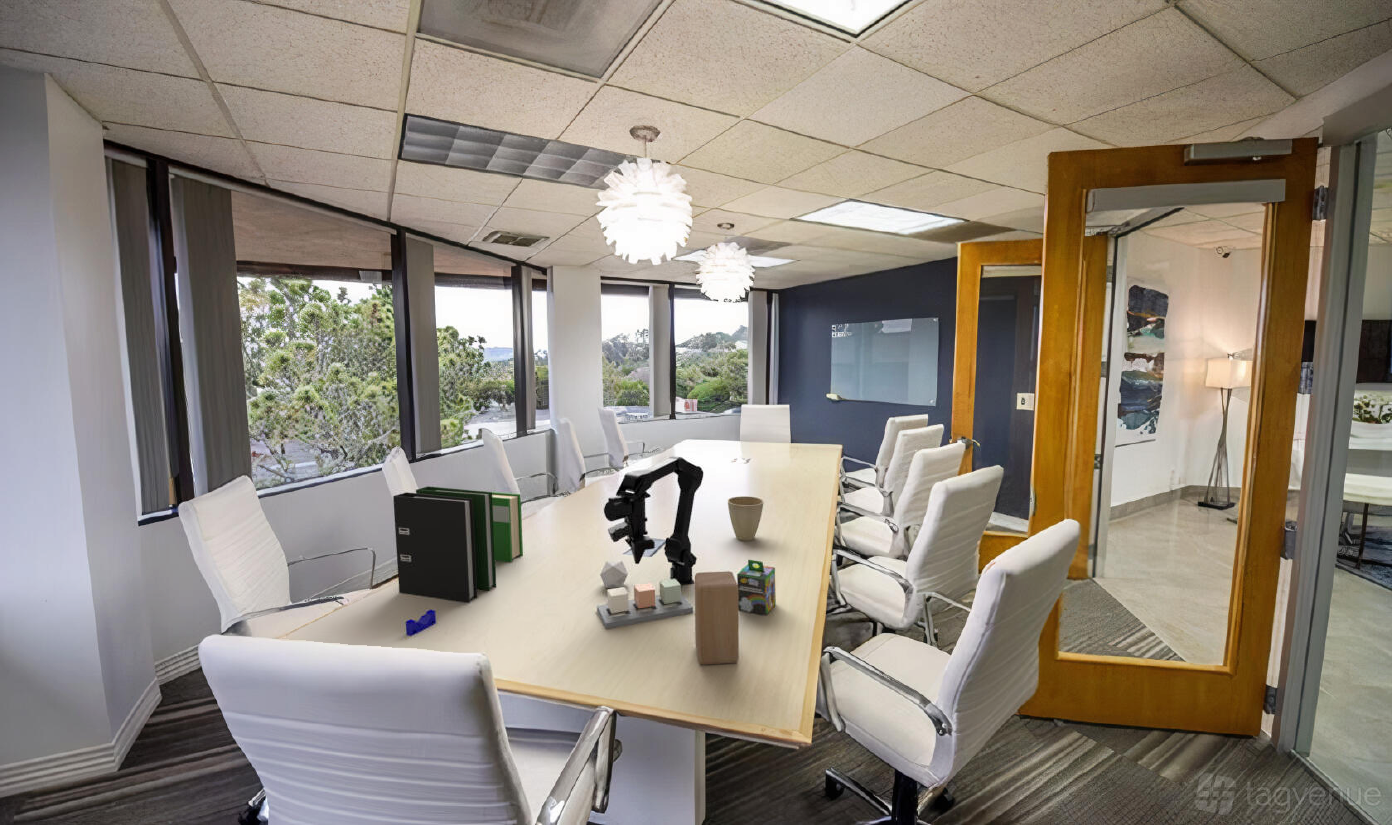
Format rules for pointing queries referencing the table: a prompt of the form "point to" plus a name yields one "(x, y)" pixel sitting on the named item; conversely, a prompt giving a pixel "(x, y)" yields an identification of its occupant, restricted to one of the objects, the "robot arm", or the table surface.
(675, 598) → the plunger sage
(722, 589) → the block
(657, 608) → the grey slotted board
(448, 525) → the ring binders
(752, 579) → the chalk box
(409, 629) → the cable holder
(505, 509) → the hardback book
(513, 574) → the table surface
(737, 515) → the plant pot
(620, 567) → the die
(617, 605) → the plunger cream
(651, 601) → the salmon pink cube
